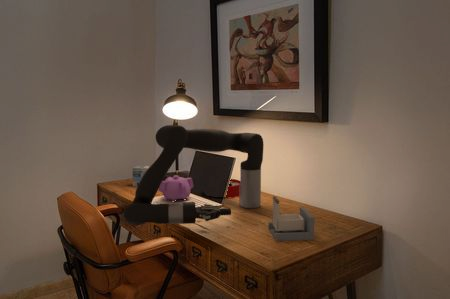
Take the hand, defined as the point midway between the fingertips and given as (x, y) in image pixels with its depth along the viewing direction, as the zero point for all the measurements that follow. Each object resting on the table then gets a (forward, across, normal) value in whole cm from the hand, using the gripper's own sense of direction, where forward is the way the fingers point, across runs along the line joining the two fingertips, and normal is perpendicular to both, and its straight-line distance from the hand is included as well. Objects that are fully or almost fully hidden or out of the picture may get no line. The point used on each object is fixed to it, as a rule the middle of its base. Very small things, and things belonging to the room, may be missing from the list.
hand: (230, 211), depth 143 cm
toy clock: (+2, +63, +10) cm, 63 cm away
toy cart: (+21, 0, +8) cm, 22 cm away
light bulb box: (-41, +84, +9) cm, 94 cm away
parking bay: (+21, 0, +9) cm, 23 cm away
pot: (-21, +53, +9) cm, 58 cm away
